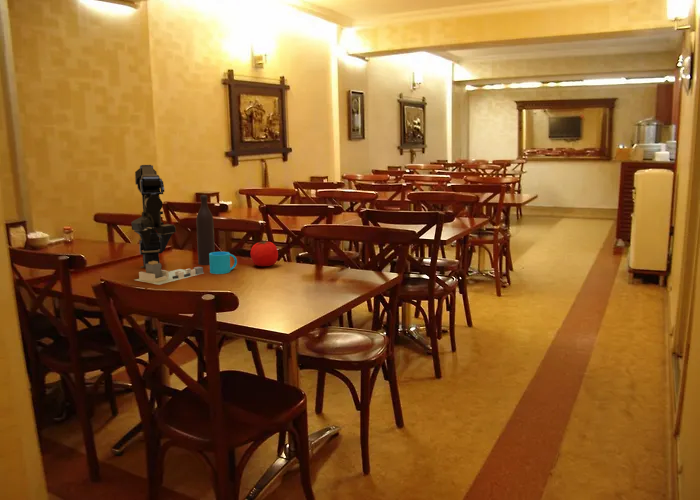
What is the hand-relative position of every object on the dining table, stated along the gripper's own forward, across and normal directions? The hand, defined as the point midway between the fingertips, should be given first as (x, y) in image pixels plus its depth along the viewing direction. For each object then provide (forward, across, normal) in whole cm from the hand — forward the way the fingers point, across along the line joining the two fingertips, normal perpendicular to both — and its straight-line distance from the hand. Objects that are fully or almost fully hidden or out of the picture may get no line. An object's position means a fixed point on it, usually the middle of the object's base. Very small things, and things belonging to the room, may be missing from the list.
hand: (154, 249), depth 227 cm
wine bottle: (+12, -4, +30) cm, 33 cm away
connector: (+11, +1, -2) cm, 11 cm away
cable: (+11, +7, +8) cm, 15 cm away
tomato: (+12, +19, +42) cm, 47 cm away
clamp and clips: (+11, +7, +10) cm, 17 cm away
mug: (+12, +13, +23) cm, 29 cm away
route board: (+12, +2, +5) cm, 13 cm away
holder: (+11, +1, -2) cm, 11 cm away
